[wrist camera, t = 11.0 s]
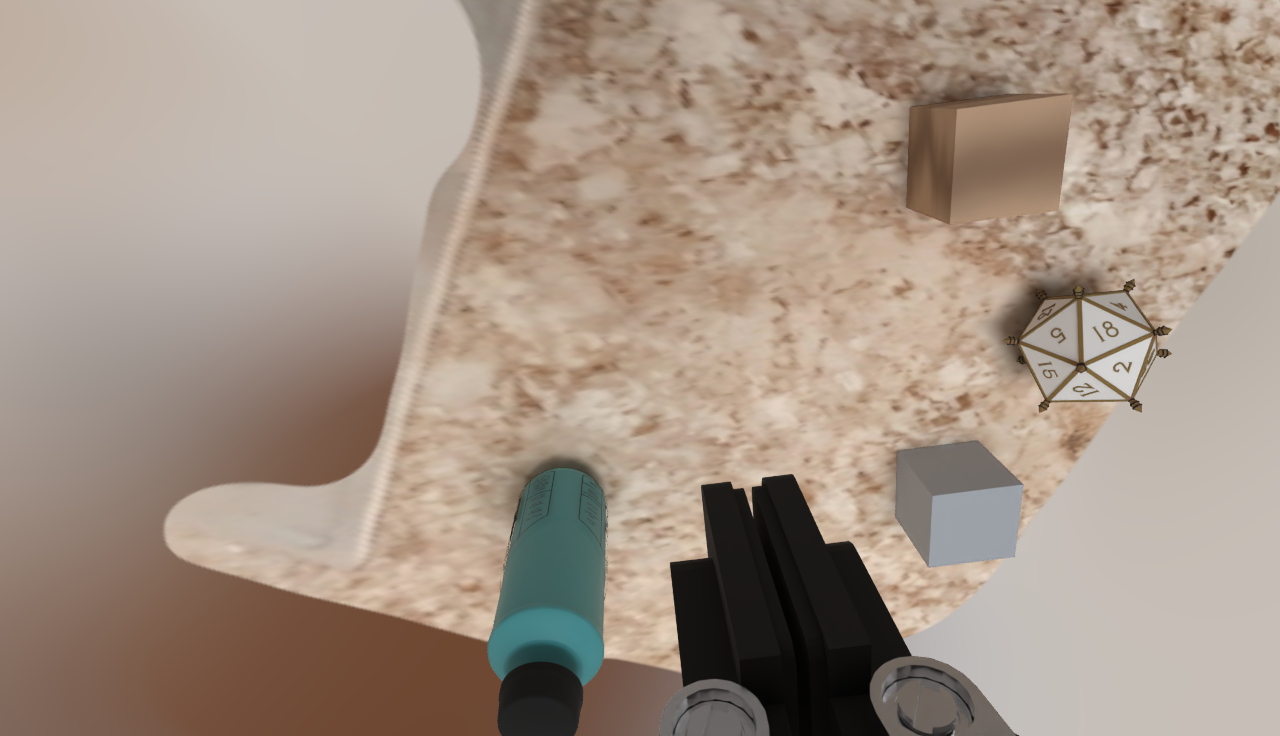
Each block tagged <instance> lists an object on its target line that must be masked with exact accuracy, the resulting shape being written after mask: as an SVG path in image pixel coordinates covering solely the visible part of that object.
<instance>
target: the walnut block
mask: <svg viewBox="0 0 1280 736" xmlns="http://www.w3.org/2000/svg"><path fill="white" fill-rule="evenodd" d="M1072 98H1073V94H1005V95H997V96H990V97H982V98H975V99H967V100H960V101H952V102H945V103H937V104H930V105H922V106H915V107H910V120H909V148H908V176H907V204H906V207H907V208H909V209H912V210H914V211H917V212H919V213H922V214H924V215H927V216H929V217H932V218H935V219H937V220H940V221H942V222H945V223H947V224H958V223H966V222H973V221H981V220H989V219H996V218H1004V217H1012V216H1020V215H1027V214H1035V213H1043V212H1050V211H1058V209H1059V201H1060V193H1061V185H1062V177H1063V169H1064V161H1065V153H1066V145H1067V138H1068V130H1069V122H1070V114H1071V106H1072Z"/></svg>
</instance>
